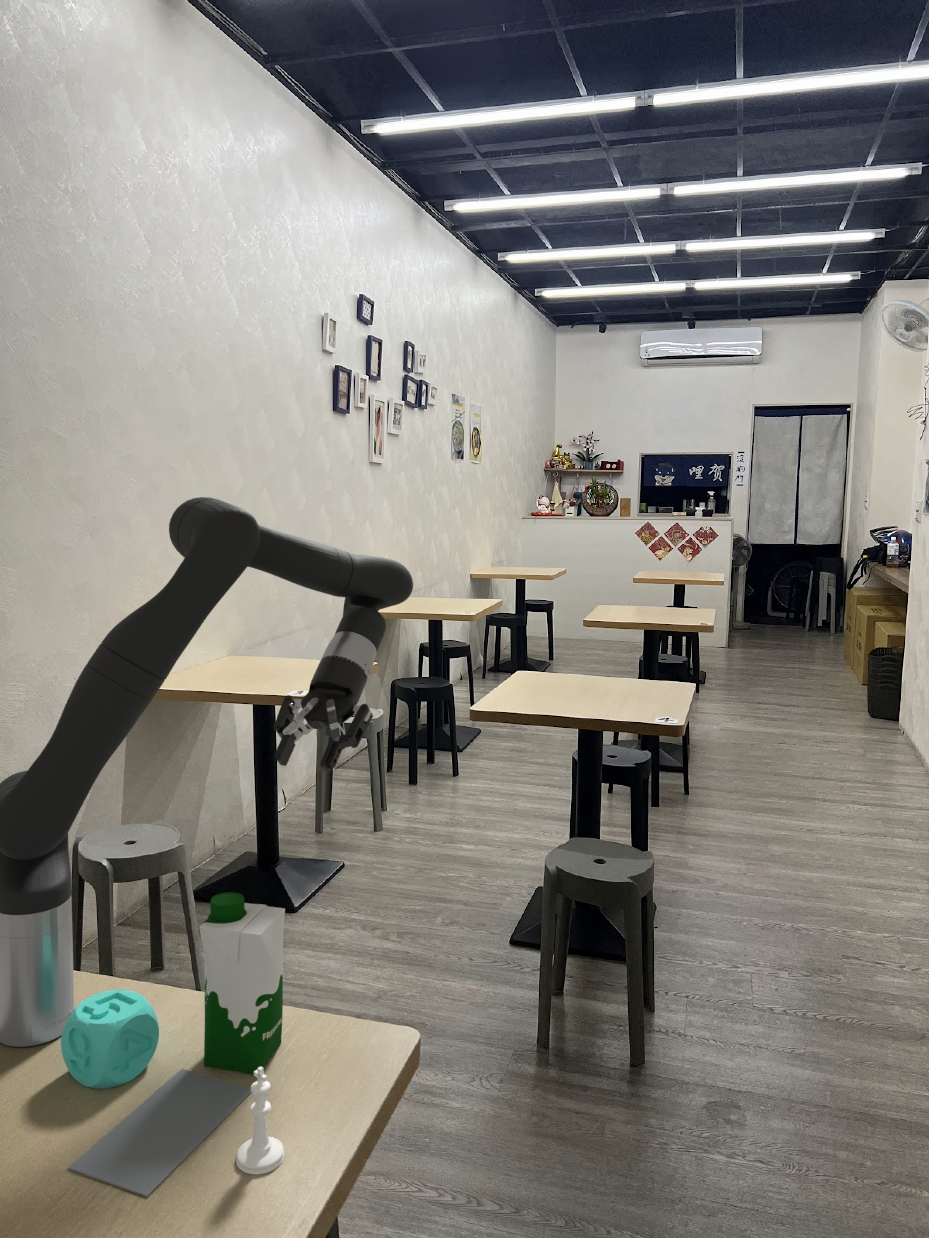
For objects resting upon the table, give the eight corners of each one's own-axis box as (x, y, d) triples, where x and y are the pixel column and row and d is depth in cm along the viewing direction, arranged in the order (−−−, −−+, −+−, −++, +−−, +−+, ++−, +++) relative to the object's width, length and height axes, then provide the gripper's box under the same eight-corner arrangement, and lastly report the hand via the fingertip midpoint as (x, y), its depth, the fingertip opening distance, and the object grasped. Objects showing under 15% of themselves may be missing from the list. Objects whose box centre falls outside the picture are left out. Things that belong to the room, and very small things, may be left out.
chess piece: (264, 1134, 98) (264, 1048, 96) (294, 1156, 94) (294, 1066, 93) (226, 1159, 94) (226, 1069, 93) (256, 1182, 91) (256, 1089, 90)
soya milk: (226, 1030, 117) (225, 882, 115) (291, 1040, 115) (292, 890, 113) (192, 1070, 108) (191, 911, 106) (263, 1081, 107) (263, 920, 104)
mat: (67, 1169, 92) (67, 1167, 92) (182, 1069, 108) (182, 1068, 108) (147, 1197, 88) (147, 1195, 88) (252, 1090, 105) (252, 1088, 105)
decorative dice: (160, 1062, 110) (160, 1000, 109) (105, 1098, 103) (103, 1032, 102) (116, 1042, 114) (115, 982, 113) (60, 1074, 107) (58, 1011, 106)
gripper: (293, 650, 134) (247, 745, 124) (380, 657, 129) (339, 758, 119) (311, 679, 139) (268, 773, 130) (395, 688, 134) (357, 786, 125)
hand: (302, 765), depth 124 cm, fingers open, 6 cm apart
